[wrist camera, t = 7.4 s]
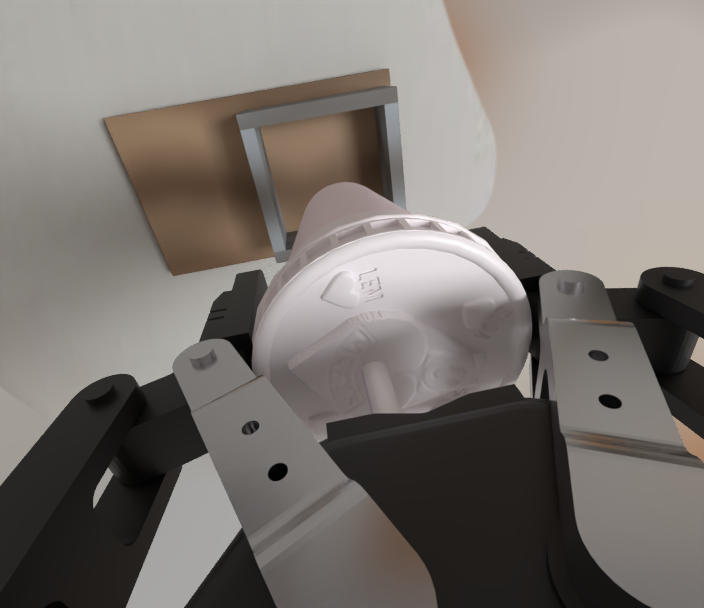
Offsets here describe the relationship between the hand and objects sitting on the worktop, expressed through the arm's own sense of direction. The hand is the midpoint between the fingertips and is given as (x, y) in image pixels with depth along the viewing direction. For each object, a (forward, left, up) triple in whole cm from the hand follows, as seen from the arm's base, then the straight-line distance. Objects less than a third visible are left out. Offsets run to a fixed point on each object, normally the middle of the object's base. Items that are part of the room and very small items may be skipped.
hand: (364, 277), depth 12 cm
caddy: (0, -4, -18) cm, 18 cm away
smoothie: (0, 0, -5) cm, 5 cm away
